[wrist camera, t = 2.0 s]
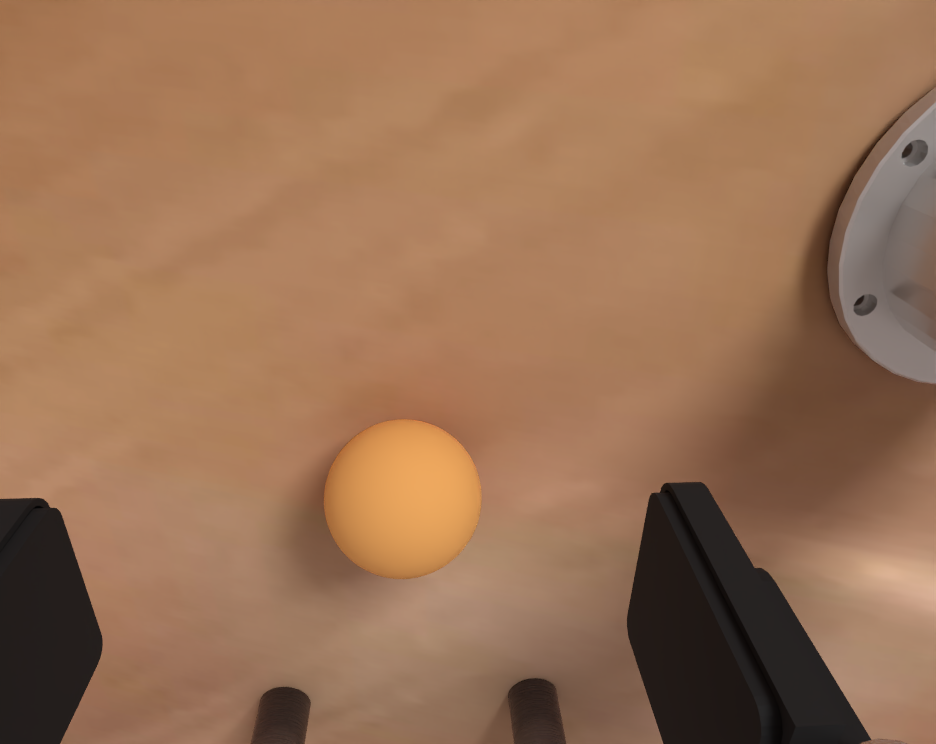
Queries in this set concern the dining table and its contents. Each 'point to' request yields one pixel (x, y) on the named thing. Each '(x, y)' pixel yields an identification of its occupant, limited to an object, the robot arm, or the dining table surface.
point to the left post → (282, 717)
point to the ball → (402, 499)
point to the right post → (535, 713)
